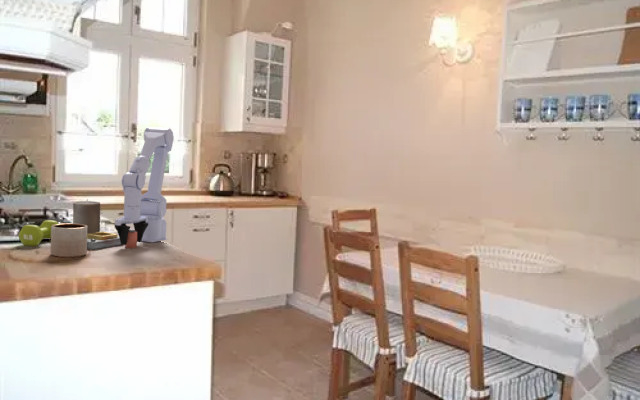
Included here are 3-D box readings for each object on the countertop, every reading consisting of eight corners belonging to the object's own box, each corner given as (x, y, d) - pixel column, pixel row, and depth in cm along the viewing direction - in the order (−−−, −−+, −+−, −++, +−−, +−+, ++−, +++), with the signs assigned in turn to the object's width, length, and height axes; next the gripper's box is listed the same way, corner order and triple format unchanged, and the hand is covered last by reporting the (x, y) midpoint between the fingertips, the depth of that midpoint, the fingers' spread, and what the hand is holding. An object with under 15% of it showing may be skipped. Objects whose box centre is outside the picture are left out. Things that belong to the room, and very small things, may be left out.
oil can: (130, 245, 202) (131, 228, 201) (139, 247, 200) (139, 230, 199) (122, 247, 198) (123, 229, 197) (131, 248, 196) (131, 231, 196)
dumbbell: (42, 238, 205) (42, 219, 204) (63, 239, 204) (63, 220, 204) (16, 245, 188) (16, 225, 188) (38, 247, 188) (39, 226, 187)
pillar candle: (103, 236, 215) (104, 198, 214) (94, 240, 206) (95, 200, 204) (78, 235, 215) (78, 197, 213) (68, 239, 205) (68, 199, 204)
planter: (93, 253, 185) (93, 224, 184) (75, 259, 174) (76, 229, 173) (62, 250, 186) (63, 222, 185) (43, 256, 175) (43, 226, 174)
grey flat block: (101, 240, 208) (102, 230, 207) (124, 244, 203) (124, 234, 203) (62, 246, 191) (62, 236, 191) (85, 250, 187) (86, 240, 187)
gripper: (138, 203, 206) (136, 239, 207) (108, 206, 192) (107, 244, 194) (152, 205, 203) (151, 241, 204) (124, 208, 190) (122, 246, 191)
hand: (131, 243), depth 199 cm, fingers open, 7 cm apart
